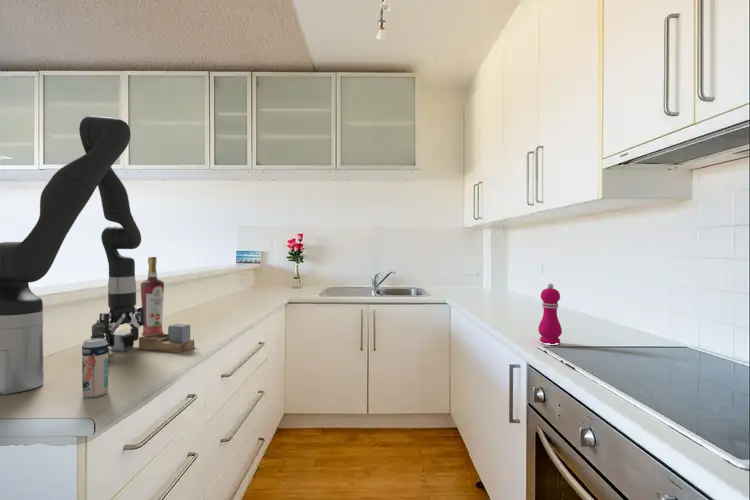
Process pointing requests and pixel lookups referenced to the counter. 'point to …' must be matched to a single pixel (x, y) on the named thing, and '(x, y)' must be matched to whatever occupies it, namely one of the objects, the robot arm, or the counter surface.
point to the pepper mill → (550, 316)
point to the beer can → (95, 367)
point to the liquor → (152, 300)
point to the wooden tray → (163, 343)
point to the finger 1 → (123, 342)
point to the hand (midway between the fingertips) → (122, 343)
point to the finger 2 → (179, 333)
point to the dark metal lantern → (98, 332)
